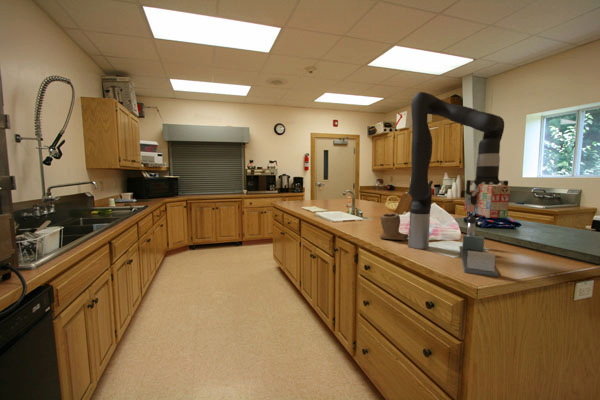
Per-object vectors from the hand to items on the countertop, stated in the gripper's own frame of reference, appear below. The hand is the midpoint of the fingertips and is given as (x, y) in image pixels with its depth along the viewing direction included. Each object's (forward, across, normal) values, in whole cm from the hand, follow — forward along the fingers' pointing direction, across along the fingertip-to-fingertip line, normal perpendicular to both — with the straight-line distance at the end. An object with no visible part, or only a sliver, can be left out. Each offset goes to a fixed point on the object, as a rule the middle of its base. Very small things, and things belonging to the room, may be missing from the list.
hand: (484, 205), depth 107 cm
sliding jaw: (+22, -2, +19) cm, 29 cm away
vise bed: (+24, -2, 0) cm, 24 cm away
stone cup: (+24, -38, +23) cm, 51 cm away
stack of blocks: (+4, 0, 0) cm, 4 cm away
